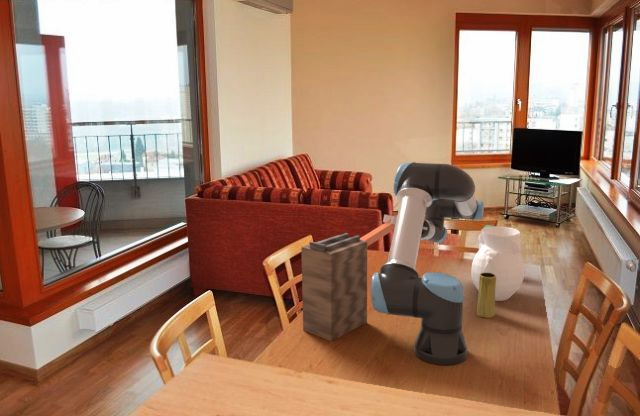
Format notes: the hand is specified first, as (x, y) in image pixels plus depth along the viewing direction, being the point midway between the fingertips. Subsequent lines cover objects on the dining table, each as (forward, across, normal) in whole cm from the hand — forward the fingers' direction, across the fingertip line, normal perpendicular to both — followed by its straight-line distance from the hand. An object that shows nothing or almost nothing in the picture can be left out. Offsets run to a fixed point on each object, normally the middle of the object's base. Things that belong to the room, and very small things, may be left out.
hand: (388, 219), depth 198 cm
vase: (-22, -32, -25) cm, 46 cm away
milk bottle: (-59, -14, -11) cm, 61 cm away
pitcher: (-39, -28, -19) cm, 51 cm away
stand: (+16, +1, -39) cm, 42 cm away
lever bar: (+1, 0, -5) cm, 6 cm away
